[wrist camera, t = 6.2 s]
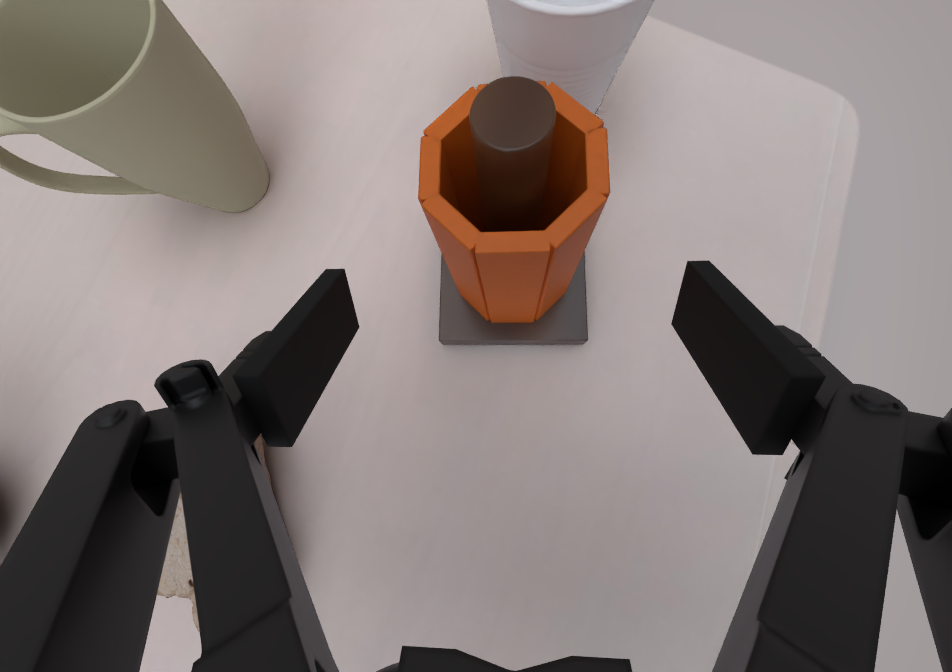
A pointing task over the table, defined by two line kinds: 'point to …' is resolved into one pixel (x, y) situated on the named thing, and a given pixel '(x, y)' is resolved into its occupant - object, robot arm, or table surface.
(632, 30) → the cup
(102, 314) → the table surface
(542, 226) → the orange octagonal sleeve
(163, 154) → the mug
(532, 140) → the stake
